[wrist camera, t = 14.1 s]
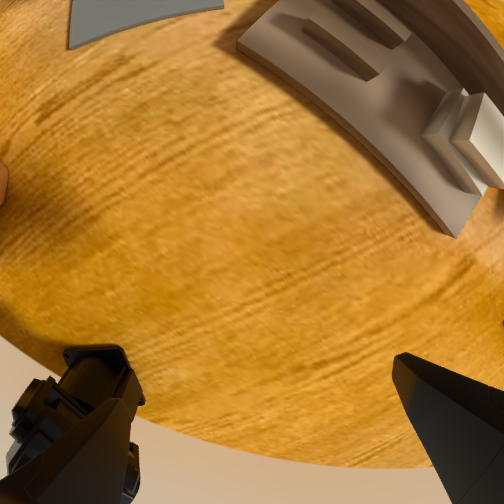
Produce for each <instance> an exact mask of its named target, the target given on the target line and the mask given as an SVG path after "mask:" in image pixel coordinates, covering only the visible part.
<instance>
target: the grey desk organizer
mask: <svg viewBox="0 0 504 504" xmlns="http://www.w3.org/2000/svg"><path fill="white" fill-rule="evenodd" d="M236 49H237V50H239V51H240V52H242V53H243V54H245V55H247V56H248V57H250V58H251V59H253V60H254V61H256V62H258V63H259V64H261V65H262V66H264V67H265V68H267V69H268V70H269V71H271V72H272V73H274V74H275V75H277V76H278V77H280V78H281V79H282V80H284V81H285V82H287V83H288V84H289V85H291V86H292V87H293V88H295V89H296V90H297V91H299V92H300V93H301V94H303V95H304V96H305V97H307V98H308V99H309V100H311V101H312V102H313V103H314V104H316V105H317V106H318V107H319V108H321V109H322V110H323V111H324V112H326V113H327V114H328V115H329V116H330V117H332V118H333V119H334V120H335V121H336V122H337V123H339V124H340V125H341V126H342V127H343V128H344V129H346V130H347V131H348V132H349V133H350V134H351V135H352V136H353V137H355V138H356V139H357V140H358V141H359V142H360V143H361V144H362V145H363V146H364V147H365V148H366V149H368V150H369V151H370V152H371V153H372V154H373V155H374V156H375V157H376V158H377V159H378V160H379V161H380V162H381V163H382V164H383V165H384V166H385V167H386V168H387V169H388V170H389V171H390V172H391V173H392V174H393V175H394V176H395V177H396V178H397V179H398V180H399V181H400V182H401V183H402V185H403V186H404V187H405V188H406V189H407V190H408V191H409V192H410V193H411V194H412V195H413V196H414V198H415V199H416V200H417V201H418V202H419V203H420V204H421V206H422V207H423V208H424V209H425V210H426V211H427V212H428V214H429V215H430V216H431V217H432V218H433V220H434V221H435V222H436V223H437V224H438V226H439V227H440V228H441V229H442V231H443V232H444V233H445V234H446V235H448V236H450V237H453V238H456V239H457V237H458V235H459V234H460V232H461V230H462V229H463V227H464V225H465V224H466V222H467V220H468V219H469V217H470V215H471V213H472V212H473V210H474V208H475V206H476V204H477V203H478V201H479V199H480V197H481V196H480V195H475V194H469V193H465V192H464V190H463V189H462V188H461V186H460V185H459V183H458V182H457V181H456V179H455V178H454V177H453V175H452V174H451V173H450V171H449V170H448V169H447V167H446V166H445V165H444V164H443V162H442V161H441V160H440V159H439V157H438V156H437V155H436V154H435V152H434V151H433V150H432V149H431V148H430V146H429V145H428V144H427V143H426V142H425V141H424V140H423V138H422V137H421V136H420V135H421V133H422V132H423V130H424V128H425V127H426V125H427V124H428V122H429V120H430V119H431V117H432V116H433V114H434V112H435V111H436V109H437V107H438V106H439V104H440V102H441V101H442V99H443V97H444V96H445V94H446V92H450V91H454V90H458V89H462V88H464V89H465V90H466V92H467V93H468V94H469V95H473V94H478V93H483V92H485V94H486V95H487V96H488V97H489V98H490V100H491V101H492V102H493V103H494V105H495V106H496V107H497V109H498V110H499V111H500V113H501V114H502V115H503V117H504V50H503V48H502V47H501V46H500V44H499V43H498V42H497V40H496V39H495V38H494V36H493V35H492V34H491V32H490V31H489V30H488V29H487V27H486V26H485V25H484V24H483V22H482V21H481V20H480V19H479V18H478V17H477V15H476V14H475V13H474V12H473V11H472V10H471V9H470V8H469V6H468V5H467V4H466V3H465V2H464V1H463V0H279V1H278V2H277V3H275V4H274V5H273V6H272V7H271V8H270V9H269V10H268V11H267V12H266V13H264V14H263V15H262V16H261V17H260V18H259V19H258V20H257V21H256V22H255V23H254V24H253V25H252V26H251V27H250V28H249V29H248V30H247V31H246V32H245V33H244V34H243V35H242V36H241V37H240V38H239V39H238V40H237V47H236Z"/></svg>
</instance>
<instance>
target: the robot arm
mask: <svg viewBox="0 0 504 504" xmlns="http://www.w3.org/2000/svg"><path fill="white" fill-rule="evenodd" d="M116 351H117V352H119V353H120V354H118V353H117V352H116ZM67 354H68V355H67ZM63 357H64V359H65V361H66V363H67V365H68V367H69V368H68V369H67V371H66V372H65V373H64V375H63V376H62V378H61V379H60V381H59V382H58V384H57V383H56V382H55V379H54V378H52V377H51V376H49V377H48V378H47V380H46V381H45V380H42V381H41V380H38V379H33V381H32V382H31V383H30V384H29V386H28V387H27V389H26V390H25V391H24V393H23V394H22V395H21V397H20V398H19V400H18V401H17V403H16V404H15V406H14V407H13V409H12V415H13V422H12V428H11V430H10V433H9V435H11V436H12V437H13V438H14V439H15V441H14V443H13V445H12V446H11V448H10V449H9V451H8V452H7V455H6V460H7V476H6V477H4V478H3V479H1V480H0V504H130V503H131V502H132V501H133V500H134V498H135V496H136V494H137V492H138V489H139V486H140V467H139V450H138V449H139V447H138V445H136V444H135V443H133V442H132V443H131V442H130V430H131V423H132V421H133V419H134V416H135V413H136V410H137V407H138V406H143V405H144V404H145V401H146V400H145V397H144V395H143V393H142V392H143V390H142V388H141V386H140V384H139V381H138V379H137V377H136V375H135V372H134V370H133V369H132V368H131V366H130V364H129V361H128V359H127V357H126V354H125V352H124V350H123V349H122V348H121V347H118V346H116V347H99V348H76V349H65V350H64V351H63ZM392 380H393V382H394V385H395V387H396V390H397V392H398V394H399V397H400V399H401V402H402V404H403V407H404V409H405V412H406V414H407V416H408V418H409V420H410V422H411V424H412V426H413V428H414V429H415V431H416V433H417V435H418V437H419V439H420V441H421V442H422V444H423V446H424V448H425V450H426V452H427V454H428V456H429V458H430V460H431V462H432V464H433V466H434V468H435V469H436V471H437V473H438V476H439V478H440V479H441V482H442V483H443V486H444V488H445V490H446V492H447V494H448V496H449V498H450V500H451V502H452V504H504V391H502V390H499V389H497V388H494V387H491V386H488V385H486V384H483V383H481V382H478V381H476V380H473V379H471V378H468V377H466V376H463V375H461V374H458V373H456V372H453V371H451V370H448V369H446V368H444V367H441V366H439V365H436V364H434V363H431V362H429V361H427V360H424V359H422V358H419V357H417V356H415V355H412V354H410V353H407V352H404V353H401V354H398V355H396V356H395V357H394V362H393V369H392Z"/></svg>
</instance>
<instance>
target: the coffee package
mask: <svg viewBox="0 0 504 504" xmlns="http://www.w3.org/2000/svg"><path fill="white" fill-rule="evenodd" d="M8 176H9V171H8V169H7V167H6V165H5V164H3V163H2V162H1V161H0V206H1V204H2V203H3V202H4V200H5V195H6V187H7V183H8Z"/></svg>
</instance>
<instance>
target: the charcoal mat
mask: <svg viewBox="0 0 504 504" xmlns="http://www.w3.org/2000/svg"><path fill="white" fill-rule="evenodd" d="M216 9H224V2H223V0H73V4H72V14H71V25H70V41H69V48H70V49H71V50H73V49H76V48H78V47H80V46H83V45H85V44H88V43H90V42H93V41H95V40H98V39H100V38H103V37H106V36H109V35H112V34H114V33H117V32H120V31H124V30H127V29H130V28H133V27H137V26H140V25H144V24H147V23H151V22H155V21H159V20H163V19H167V18H172V17H176V16H181V15H186V14H191V13H197V12H203V11H209V10H216Z"/></svg>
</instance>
